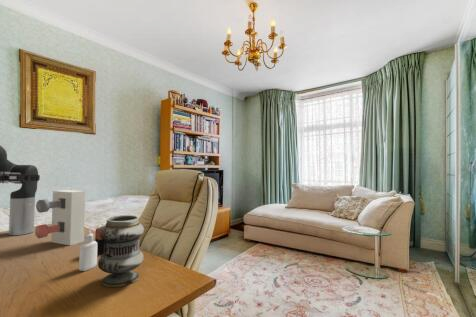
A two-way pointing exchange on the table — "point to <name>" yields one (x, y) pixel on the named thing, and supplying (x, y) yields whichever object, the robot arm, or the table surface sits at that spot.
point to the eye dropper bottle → (88, 253)
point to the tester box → (69, 217)
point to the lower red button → (45, 230)
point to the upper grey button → (46, 205)
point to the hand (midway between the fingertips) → (31, 177)
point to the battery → (99, 241)
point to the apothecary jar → (121, 250)
